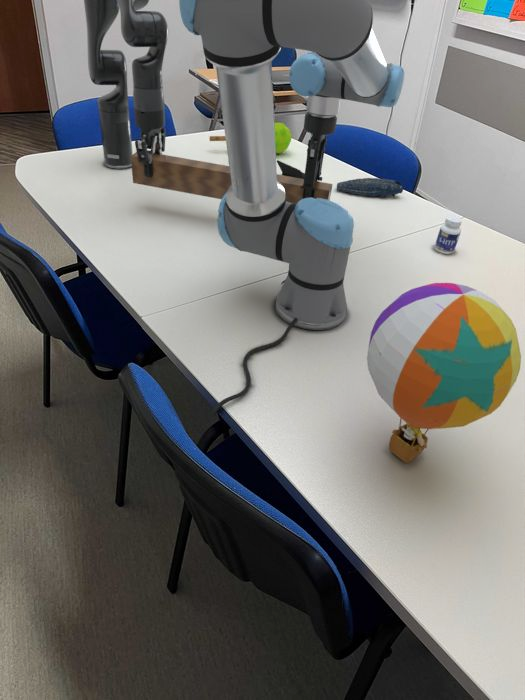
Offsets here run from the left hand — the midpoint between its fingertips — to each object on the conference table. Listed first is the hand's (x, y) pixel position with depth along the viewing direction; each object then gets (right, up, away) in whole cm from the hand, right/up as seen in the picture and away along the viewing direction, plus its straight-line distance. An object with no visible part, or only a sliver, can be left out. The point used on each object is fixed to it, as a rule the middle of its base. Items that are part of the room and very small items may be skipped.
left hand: (153, 172), depth 140 cm
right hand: (+41, -11, -5) cm, 43 cm away
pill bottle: (+79, -21, 0) cm, 81 cm away
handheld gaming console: (+41, +9, +33) cm, 53 cm away
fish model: (+64, +3, +28) cm, 70 cm away
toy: (+52, -64, -57) cm, 101 cm away
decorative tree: (+25, +25, +50) cm, 62 cm away
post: (+21, -7, -2) cm, 22 cm away
